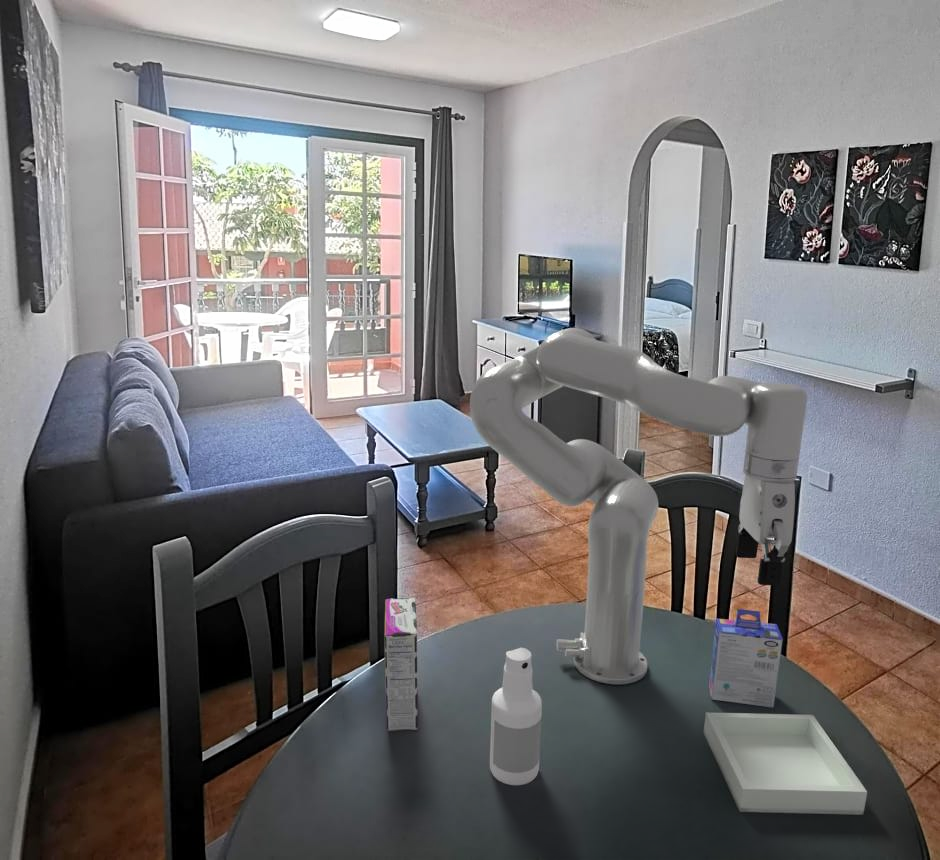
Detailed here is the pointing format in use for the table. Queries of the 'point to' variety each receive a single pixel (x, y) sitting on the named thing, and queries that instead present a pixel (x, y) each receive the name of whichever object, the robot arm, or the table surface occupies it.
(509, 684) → the spray bottle
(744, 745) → the tray
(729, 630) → the ink cartridge box
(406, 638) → the candy bar box
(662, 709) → the table surface
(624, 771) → the table surface
